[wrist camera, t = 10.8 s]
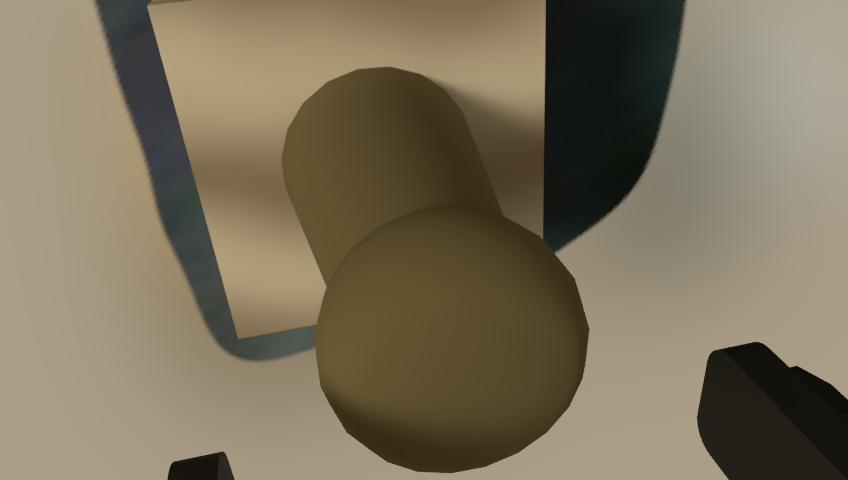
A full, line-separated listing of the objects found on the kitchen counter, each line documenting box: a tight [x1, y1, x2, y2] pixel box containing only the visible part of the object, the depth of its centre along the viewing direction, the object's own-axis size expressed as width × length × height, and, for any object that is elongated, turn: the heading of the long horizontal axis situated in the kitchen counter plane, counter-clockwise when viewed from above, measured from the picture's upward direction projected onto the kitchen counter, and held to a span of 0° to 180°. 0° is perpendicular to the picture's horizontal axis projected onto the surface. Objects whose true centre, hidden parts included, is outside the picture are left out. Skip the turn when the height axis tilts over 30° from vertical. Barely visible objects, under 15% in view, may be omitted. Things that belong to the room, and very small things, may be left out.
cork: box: [281, 67, 589, 473], centre depth 16 cm, size 6×6×11 cm
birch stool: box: [147, 0, 546, 339], centre depth 24 cm, size 11×11×8 cm
